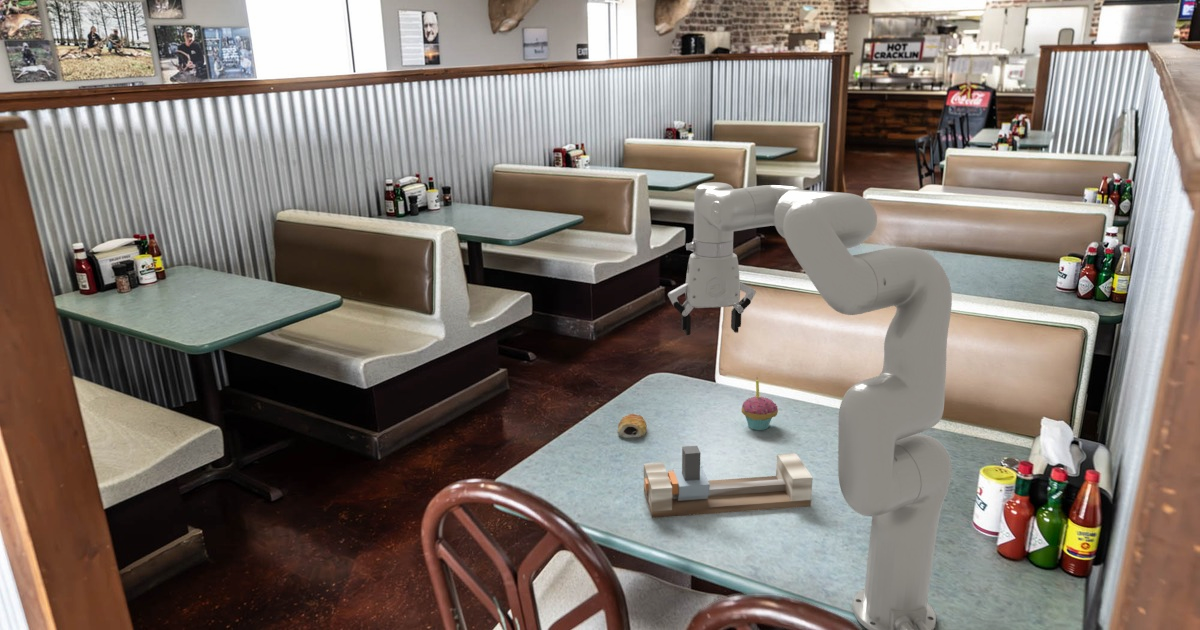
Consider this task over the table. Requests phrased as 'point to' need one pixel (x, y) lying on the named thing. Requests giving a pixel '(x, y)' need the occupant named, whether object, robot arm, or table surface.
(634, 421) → the pastry
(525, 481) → the table surface
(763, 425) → the cupcake
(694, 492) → the carriage
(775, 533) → the table surface
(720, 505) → the rail bench
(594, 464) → the table surface
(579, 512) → the table surface
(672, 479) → the button
